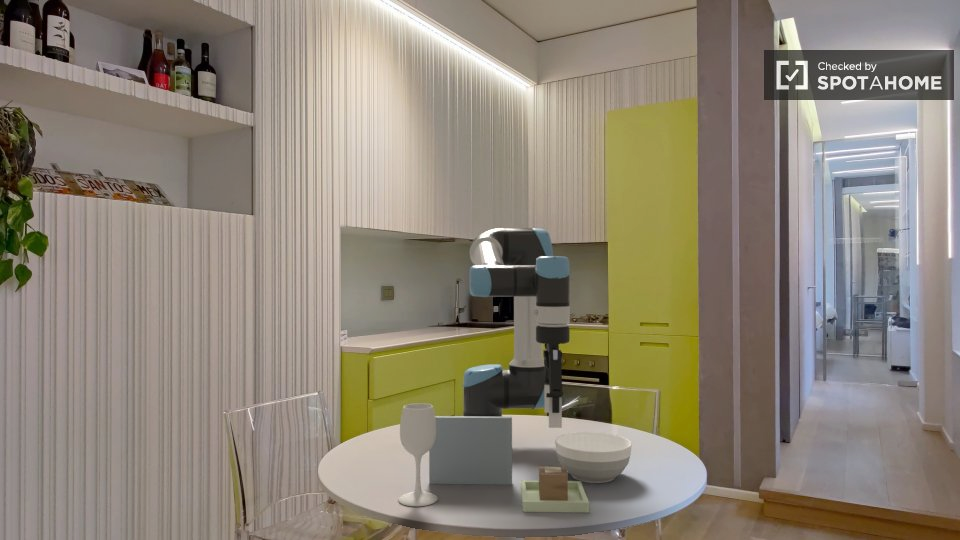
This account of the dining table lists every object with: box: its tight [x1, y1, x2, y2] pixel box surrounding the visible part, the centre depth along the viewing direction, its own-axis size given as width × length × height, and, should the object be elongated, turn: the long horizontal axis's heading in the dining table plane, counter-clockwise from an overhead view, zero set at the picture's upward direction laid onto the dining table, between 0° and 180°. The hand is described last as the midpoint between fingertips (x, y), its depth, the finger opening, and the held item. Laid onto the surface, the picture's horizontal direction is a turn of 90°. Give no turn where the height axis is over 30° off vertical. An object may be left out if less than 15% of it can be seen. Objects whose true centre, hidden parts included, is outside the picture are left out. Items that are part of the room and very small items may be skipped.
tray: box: [520, 480, 590, 514], centre depth 140 cm, size 14×14×2 cm
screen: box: [428, 415, 513, 486], centre depth 151 cm, size 20×2×16 cm, turn 88°
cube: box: [538, 466, 569, 501], centre depth 140 cm, size 6×6×6 cm
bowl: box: [554, 431, 632, 484], centre depth 157 cm, size 19×19×9 cm
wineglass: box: [398, 402, 438, 507], centre depth 140 cm, size 9×9×21 cm
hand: (552, 419), depth 140 cm, fingers open, 13 cm apart
